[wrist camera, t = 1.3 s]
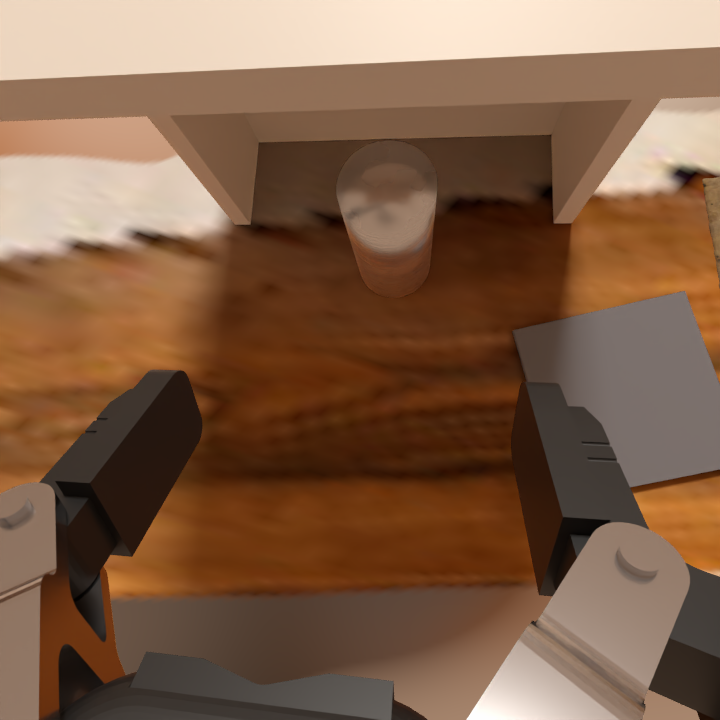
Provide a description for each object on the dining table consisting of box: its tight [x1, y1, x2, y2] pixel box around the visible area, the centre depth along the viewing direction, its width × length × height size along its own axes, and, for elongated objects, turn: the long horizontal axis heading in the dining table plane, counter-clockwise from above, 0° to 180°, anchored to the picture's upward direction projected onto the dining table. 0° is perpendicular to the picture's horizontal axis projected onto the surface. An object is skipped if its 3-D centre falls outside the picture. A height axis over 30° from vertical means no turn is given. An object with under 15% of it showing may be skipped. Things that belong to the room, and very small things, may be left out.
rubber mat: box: [512, 291, 720, 487], centre depth 29 cm, size 11×11×1 cm
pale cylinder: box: [336, 140, 438, 298], centre depth 27 cm, size 5×5×10 cm
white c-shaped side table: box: [0, 0, 720, 225], centre depth 23 cm, size 24×14×21 cm, turn 87°
